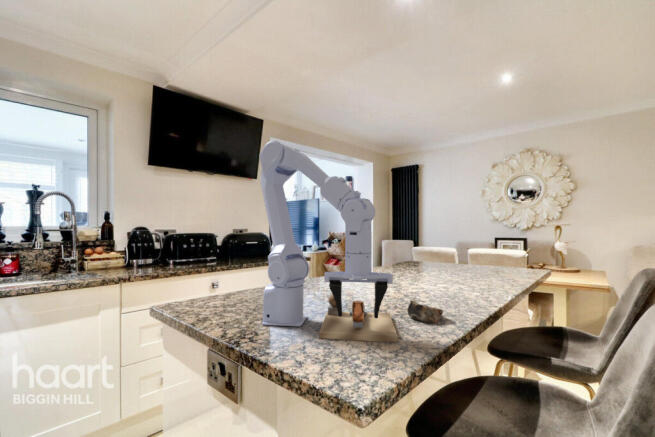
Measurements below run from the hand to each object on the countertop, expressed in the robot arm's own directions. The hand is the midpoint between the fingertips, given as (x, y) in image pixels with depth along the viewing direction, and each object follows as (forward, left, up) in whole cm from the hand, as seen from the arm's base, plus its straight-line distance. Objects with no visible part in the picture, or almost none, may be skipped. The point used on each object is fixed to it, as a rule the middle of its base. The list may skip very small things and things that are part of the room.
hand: (357, 316), depth 63 cm
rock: (+17, +14, -4) cm, 23 cm away
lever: (0, +7, -2) cm, 8 cm away
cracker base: (0, +5, -4) cm, 6 cm away
